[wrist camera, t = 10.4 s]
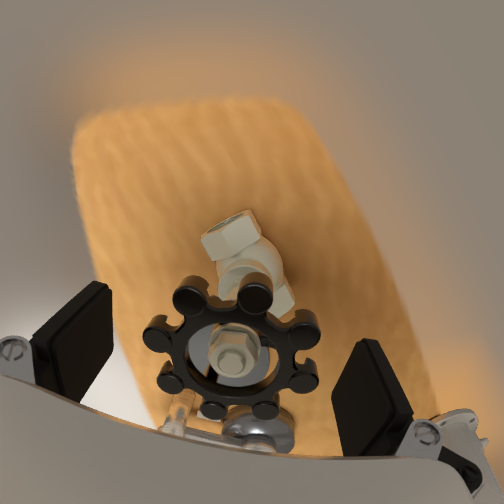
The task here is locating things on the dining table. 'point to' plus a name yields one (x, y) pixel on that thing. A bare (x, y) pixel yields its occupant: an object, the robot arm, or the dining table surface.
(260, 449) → the crank
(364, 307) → the dining table surface
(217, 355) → the valve
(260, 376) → the mat
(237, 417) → the crank housing
